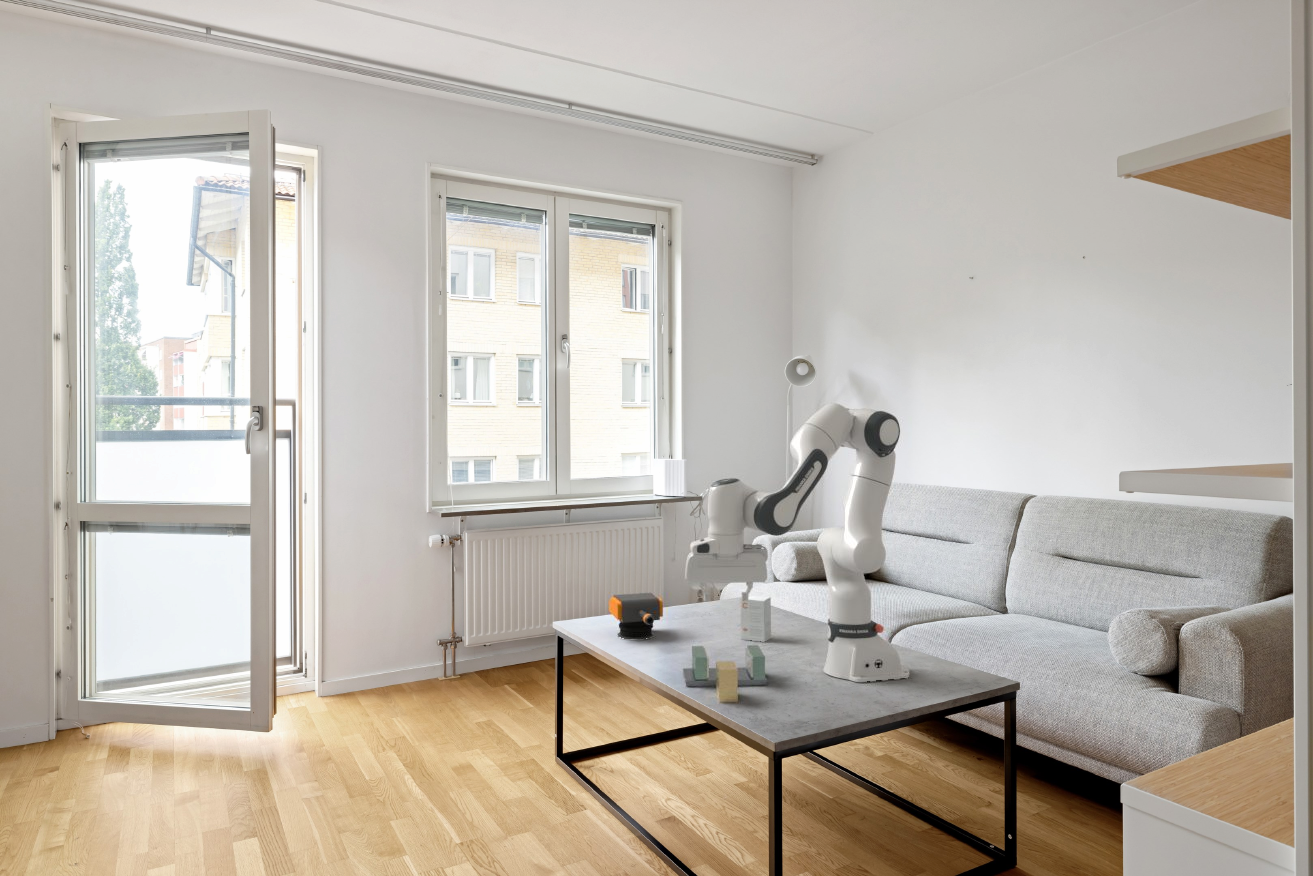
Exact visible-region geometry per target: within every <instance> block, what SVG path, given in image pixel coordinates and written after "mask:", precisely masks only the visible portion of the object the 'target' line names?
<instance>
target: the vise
mask: <svg viewBox="0 0 1313 876" xmlns="http://www.w3.org/2000/svg"><path fill="white" fill-rule="evenodd" d="M737 669H738V687H740V686H741V687H743V686H745V687H746V686H748V687H749V686H750V685H754V686H767V685H768V678H767V677H766V657H765V654H764V653H763V651H762V650H761V648H760V646H759V645H758V644H757V645H755V644H754V645H752V644H751V645H750V644H749V645H746V647H745V667H737ZM682 674H683V675H684V676H683V675H682V676H683V679H685V681H684V685H685V684H686V685H685V687H686V686H696V687H716V667H709V678H707V679H699V680H695V676H694V672H693V668H692V667H691V668H689V667H687V668H682Z"/></svg>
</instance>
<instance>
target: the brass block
mask: <svg viewBox="0 0 1313 876" xmlns="http://www.w3.org/2000/svg"><path fill="white" fill-rule="evenodd" d="M715 668H716V686H715V694H716V697H717V700H718V703H738V702H739V701H738V700H739V699H738V696H739V694H738V693H739V692H738V689H739V688H738V687H739V686H738V669H737V668H738V667H737V665H736V663H735V661H734V660H732V661H730V660H729V661H728V660H727V661H716V662H715Z"/></svg>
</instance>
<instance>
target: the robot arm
mask: <svg viewBox="0 0 1313 876" xmlns="http://www.w3.org/2000/svg"><path fill="white" fill-rule="evenodd" d="M809 417H810V418H808V419H807V420H806V421H805V422H804V424H803V425H802V426H801V427H800V428H799V429H798V430H797V431H796V432H795V434H794V435H793V437H792V439H791V440H790V441H789V442H790V443H789V450H790V451H789V452H790V455H791V458H792V459H793V460H794V462H795V463H796V464H797V467H796V468H795V470H794V471H793V473H792V474H791V476H789V478H788V480H787V481H786V482H785V484H784V485H783V486H782V488H780V489H779V490H776V491H774V492H765V491H759V490H757V489H754V488H752V487H750V486H748V485H746V484H744V483H743V482H742V481H741V480H740V479H739V478H734V477H733V478H724V479H723V478H722V479H719V480H715V482H713V483H712V484H711V485H710V488H709V491H708V499H707V517H708V521H709V525H708V529H707V536H706V537H704V538H701V539H698V540H694V541H691V542H690V544H689V548H690V552H689V553H688V555H687V557H686V561H685V569H684V572H685V573H684V579H685V581H686V582H687V583H689V584H698V587H699V588H700V590H701V592H702V594H703V601H704V602H711V593H710V592H706V589H705V588H706V586H707V585H706V584H719V583H720V584H721V583H722V584H723V583H724V584H726V583H730V584H733V583H734V584H735V583H744V584H745V585H746V589H745V591H742V592H741V598H742V601H748V595H749V594H750V593H751V591H752V589H753V588H754V583H765V582H766V581H767V580H768V569H767V563H766V562H767V560H768V558H769V556H768V555H769V552H768V548H766V547H765V546H764V545H763V544H760V543H759V544H758V543H757V544H749V543H748V544H745V543H744V540H745V539H744V538H745V537H744V536H745V534H744V533H745V531H744V530H745V528H747V529H752V530H755V531H759V532H762V533H766V534H768V535H771V536H774V537H775V536H778V537H779V536H782V535H785V534H787V533H788V532H789V531H790V530H791V529H792V528H793V526H794V524H795V523H796V521H797V518H798V516H799V512H800V510H801V508H802V506H803V505H804V503H805V502H806V500H807V499H808V498H809V496H810V494H811V493H812V492H813V490H814V489H815V487H816V486H817V485H818V483H819V482H820V480H821V479H822V478H823V476H824V474H825V472H826V470H827V467H828V465H829V462H830V460H831V459H832V458H833V457H834V455H835V454H836V453H837V451H838V450H839V449H840V448H841V447H844V448H849V449H852V450H855V455H856V459H855V461H854V465H853V466H852V469H851V473H850V475H849V479H848V482H847V485H846V489H845V493H844V495H843V499H842V506H843V509H844V526H838V525H837V526H831V527H829V528H826V529H824V530H823V531H821V533H820V534H819V536H818V538H817V542H816V548H817V551H818V553H819V556H820V557H821V559H822V563H823V567H824V572H825V577H826V582H827V587H828V598H829V600H828V602H829V603H828V604H829V605H828V606H829V609H828V610H829V611H828V612H829V614H828V615H829V618H828V619H827V629H826V631H827V640H828V646H827V654H826V659H825V663H824V666H823V669H822V670H823V672H824V673H825V674H827V675H829V676H831V677H835V678H838V679H844V680H847V681H848V680H849V681H853V682H854V683H855V682H856V683H867V681H870V682H877V681H876V680H882V681H889V680H888V679H894V680H901V679H900V678H906V679H909V678H910V676H909V675H910V670H909V669H908V668H907V667H906V666H905V665H903V664H902V663H901V658H900V654H899V652H898V650H897V649H896V647H894V646H893V645H892V644H890V642H889V641H887V640H886V639H885V638H883V637H882V636H880V635H879V633H880V634H881V633H883V632H884V630H885V627H884V626H883V625H882V624H881V623H877V622H875V621H874V620H872V594H871V593H872V592H871V590H870V588H869V586H868V584H867V582H866V579H865V578H866V577H865V576H864V575H865V574H871V573H874V572H876V571H877V572H878V570H880V569H881V568H882V567H883V565H884V563H885V561H886V556H887V554H886V553H887V551H886V548H885V545H884V543H883V542H884V541H883V537H882V533H883V518H884V517H883V515H884V510H885V507H886V503H887V500H888V497H889V494H890V490H891V486H892V482H893V479H894V474H895V468H896V467H895V466H896V458H897V457H896V451H895V450H894V449H895V448H896V446H897V445H898V443H899V439H900V434H901V427H900V423H899V420H898V419H897V417H896V416H894V415H893V414H891V413H889V412H887V411H883V410H875V409H872V408H871V409H870V408H846V407H845V406H843V405H842V404H839V403H834V402H833V403H832V402H831V403H827V404H826V405H824V406H823V407H821V408H820V409H819V410H817V411H816V412H815V413H814V414H813V415H811V416H809ZM908 677H909V678H908Z"/></svg>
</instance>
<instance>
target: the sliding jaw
mask: <svg viewBox="0 0 1313 876" xmlns="http://www.w3.org/2000/svg"><path fill="white" fill-rule="evenodd" d="M709 661H710V658H709V655H708V652H707V649H706V647H704V646H703V645H697V646H696V645H695V646H691V668H693V672H694V676H695V680H699V679H707V678H709V668H710V667H709V666H710V664H709V663H710V662H709Z"/></svg>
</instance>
